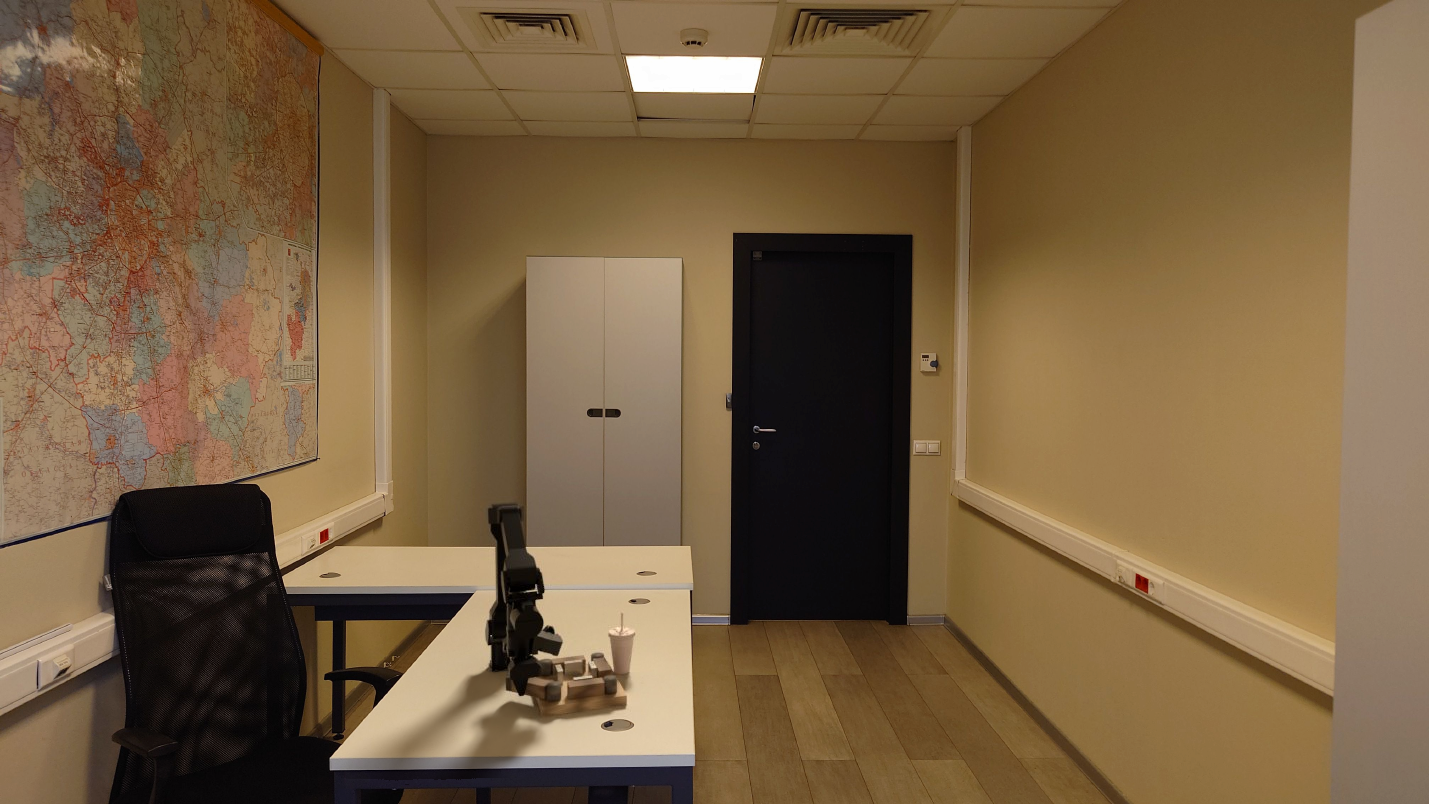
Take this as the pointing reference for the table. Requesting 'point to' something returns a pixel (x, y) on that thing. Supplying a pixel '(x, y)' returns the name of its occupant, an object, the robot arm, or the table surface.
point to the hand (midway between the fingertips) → (521, 695)
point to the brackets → (575, 670)
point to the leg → (538, 688)
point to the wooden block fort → (582, 687)
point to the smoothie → (621, 647)
